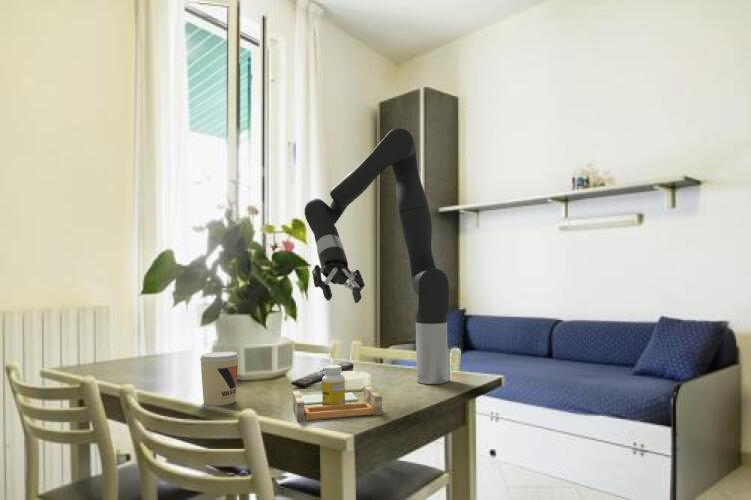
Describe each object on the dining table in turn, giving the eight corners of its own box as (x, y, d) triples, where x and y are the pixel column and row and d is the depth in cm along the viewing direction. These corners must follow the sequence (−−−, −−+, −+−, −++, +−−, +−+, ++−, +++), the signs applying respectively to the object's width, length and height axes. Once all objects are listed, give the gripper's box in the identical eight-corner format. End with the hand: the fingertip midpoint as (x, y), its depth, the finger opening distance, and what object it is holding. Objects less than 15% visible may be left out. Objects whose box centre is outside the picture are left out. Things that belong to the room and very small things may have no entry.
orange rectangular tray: (303, 414, 118) (303, 407, 118) (367, 409, 121) (367, 402, 122) (306, 420, 113) (306, 413, 113) (373, 415, 116) (373, 408, 116)
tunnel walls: (292, 407, 124) (292, 390, 124) (369, 401, 129) (369, 385, 129) (297, 421, 112) (297, 403, 112) (382, 414, 117) (382, 396, 117)
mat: (299, 397, 134) (299, 395, 134) (351, 393, 138) (351, 392, 138) (302, 404, 127) (302, 403, 127) (358, 400, 130) (358, 399, 130)
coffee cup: (224, 407, 125) (224, 357, 126) (192, 405, 128) (192, 356, 129) (245, 398, 134) (245, 352, 135) (215, 396, 137) (215, 350, 138)
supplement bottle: (319, 406, 125) (319, 365, 126) (341, 404, 127) (340, 363, 127) (325, 411, 120) (325, 369, 120) (348, 409, 122) (347, 367, 122)
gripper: (313, 242, 142) (325, 289, 132) (359, 248, 149) (373, 293, 139) (303, 260, 146) (314, 306, 136) (348, 265, 153) (361, 310, 143)
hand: (344, 300), depth 138 cm, fingers open, 8 cm apart
